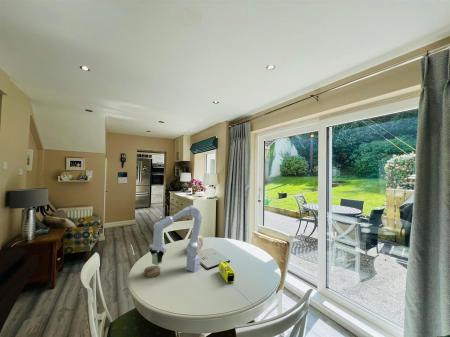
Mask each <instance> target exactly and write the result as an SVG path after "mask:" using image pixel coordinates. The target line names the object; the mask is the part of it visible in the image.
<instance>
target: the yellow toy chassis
mask: <svg viewBox="0 0 450 337" xmlns="http://www.w3.org/2000/svg"><path fill="white" fill-rule="evenodd" d="M218 272H219V274H220V276H221V277H222V279H224V281H225V282H226V283H227V284H229V283H233V282H235V276H236V274H235V271H234V269H233V268H232V267H231V265H230V264H229V263H228V262H227V261H225V262H222V261H221V260H220V261H218Z"/></svg>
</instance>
